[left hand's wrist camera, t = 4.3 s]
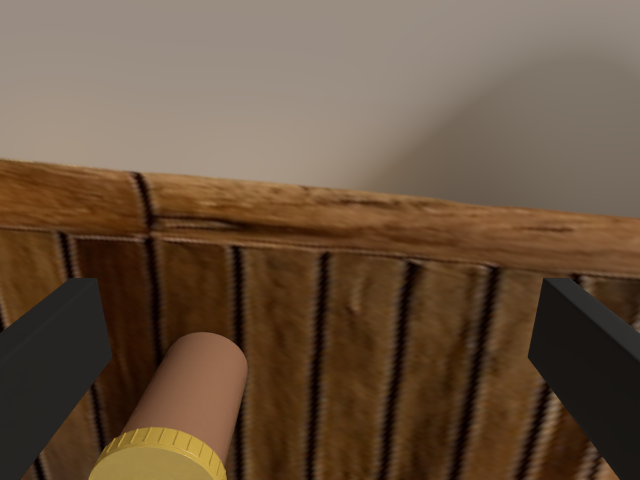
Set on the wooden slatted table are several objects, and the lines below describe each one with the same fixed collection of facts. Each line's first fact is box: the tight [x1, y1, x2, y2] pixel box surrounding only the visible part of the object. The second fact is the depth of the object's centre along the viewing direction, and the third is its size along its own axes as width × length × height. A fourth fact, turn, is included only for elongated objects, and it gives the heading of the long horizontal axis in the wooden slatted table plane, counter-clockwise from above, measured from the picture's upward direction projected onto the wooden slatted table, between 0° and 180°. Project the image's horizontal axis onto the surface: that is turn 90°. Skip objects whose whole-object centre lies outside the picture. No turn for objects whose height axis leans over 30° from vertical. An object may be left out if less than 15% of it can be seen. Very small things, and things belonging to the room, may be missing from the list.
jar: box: [120, 332, 248, 468], centre depth 40 cm, size 9×9×15 cm
